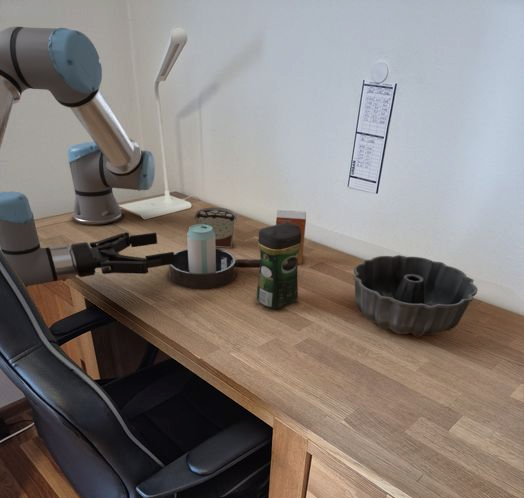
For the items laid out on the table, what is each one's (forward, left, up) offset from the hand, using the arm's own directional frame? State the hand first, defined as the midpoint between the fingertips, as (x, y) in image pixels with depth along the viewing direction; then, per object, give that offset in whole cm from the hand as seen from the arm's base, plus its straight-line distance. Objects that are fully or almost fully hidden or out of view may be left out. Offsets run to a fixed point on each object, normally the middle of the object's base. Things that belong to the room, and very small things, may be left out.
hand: (164, 247), depth 111 cm
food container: (-26, +13, -9) cm, 30 cm away
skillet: (-4, +9, -9) cm, 13 cm away
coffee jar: (+11, +27, -9) cm, 30 cm away
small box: (-14, +33, -9) cm, 37 cm away
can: (-4, +9, -8) cm, 13 cm away
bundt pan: (+19, +56, -9) cm, 60 cm away
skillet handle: (-4, +24, -7) cm, 25 cm away
